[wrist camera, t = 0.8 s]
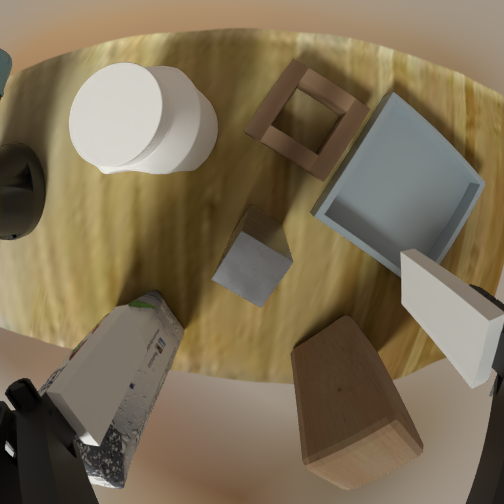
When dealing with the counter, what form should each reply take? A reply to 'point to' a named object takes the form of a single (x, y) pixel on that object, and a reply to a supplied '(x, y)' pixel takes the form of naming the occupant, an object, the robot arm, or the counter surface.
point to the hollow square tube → (326, 94)
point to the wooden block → (349, 408)
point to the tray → (400, 188)
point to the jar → (142, 120)
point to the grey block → (254, 257)
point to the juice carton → (132, 392)
